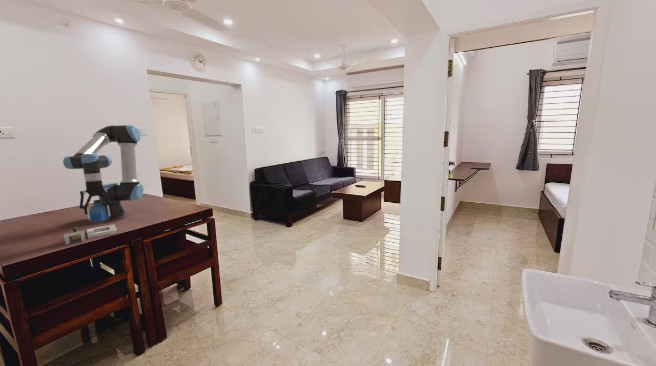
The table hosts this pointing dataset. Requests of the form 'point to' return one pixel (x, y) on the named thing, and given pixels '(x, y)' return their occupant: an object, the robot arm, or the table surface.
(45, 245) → the table surface
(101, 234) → the socket
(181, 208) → the table surface
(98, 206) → the perfume bottle
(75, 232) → the keeper
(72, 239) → the lock bar
